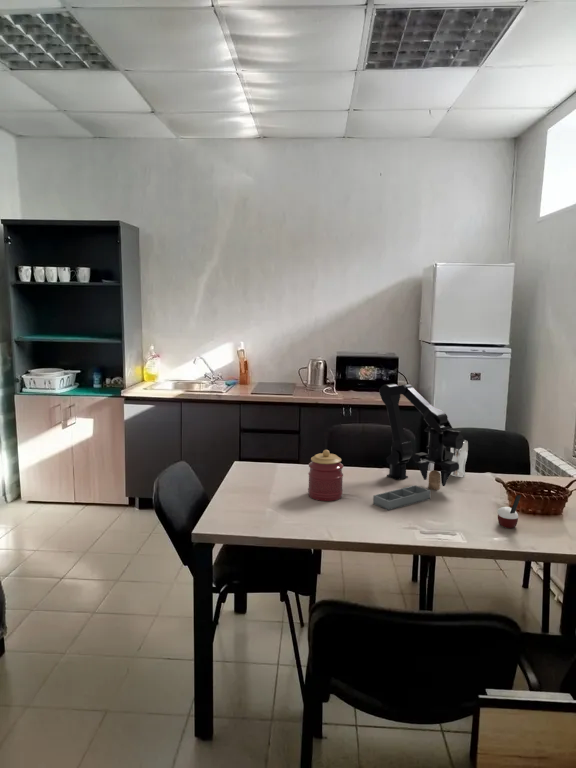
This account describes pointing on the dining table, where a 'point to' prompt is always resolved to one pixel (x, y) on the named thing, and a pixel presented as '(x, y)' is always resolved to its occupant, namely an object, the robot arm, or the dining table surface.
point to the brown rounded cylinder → (434, 480)
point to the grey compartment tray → (401, 497)
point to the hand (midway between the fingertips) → (434, 482)
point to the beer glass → (460, 459)
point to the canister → (325, 477)
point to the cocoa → (509, 514)
